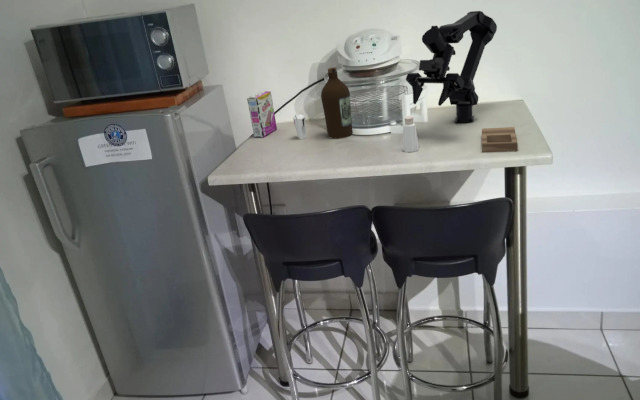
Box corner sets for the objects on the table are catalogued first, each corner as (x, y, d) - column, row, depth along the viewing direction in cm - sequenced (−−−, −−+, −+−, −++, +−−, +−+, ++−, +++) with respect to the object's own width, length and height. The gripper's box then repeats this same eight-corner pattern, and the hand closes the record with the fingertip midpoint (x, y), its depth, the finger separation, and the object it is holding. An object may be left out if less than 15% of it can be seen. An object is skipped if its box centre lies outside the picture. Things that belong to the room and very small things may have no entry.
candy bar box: (264, 137, 197) (256, 97, 190) (254, 137, 199) (245, 98, 192) (278, 129, 206) (271, 90, 199) (268, 129, 208) (260, 91, 201)
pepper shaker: (401, 148, 162) (399, 115, 158) (418, 146, 162) (416, 113, 157) (403, 153, 157) (401, 120, 153) (420, 151, 157) (418, 117, 152)
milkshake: (293, 140, 187) (289, 115, 183) (299, 136, 192) (295, 111, 188) (304, 140, 186) (300, 114, 182) (309, 135, 190) (305, 110, 186)
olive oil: (321, 138, 185) (311, 71, 175) (336, 129, 193) (328, 65, 183) (344, 140, 179) (336, 71, 169) (359, 131, 187) (352, 64, 176)
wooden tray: (481, 135, 162) (481, 128, 161) (514, 134, 159) (514, 126, 158) (481, 152, 148) (481, 144, 147) (517, 151, 145) (517, 143, 144)
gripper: (405, 48, 161) (390, 92, 159) (457, 47, 148) (442, 94, 147) (420, 65, 169) (406, 107, 167) (470, 65, 157) (456, 110, 155)
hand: (426, 104), depth 159 cm, fingers open, 9 cm apart
